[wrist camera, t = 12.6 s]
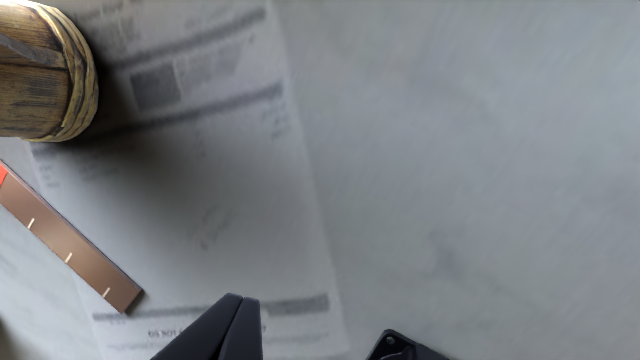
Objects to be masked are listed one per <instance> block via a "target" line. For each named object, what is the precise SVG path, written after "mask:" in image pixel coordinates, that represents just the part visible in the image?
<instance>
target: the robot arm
mask: <svg viewBox="0 0 640 360" xmlns="http://www.w3.org/2000/svg"><path fill="white" fill-rule="evenodd" d="M387 337H392V338H393V339H388V338H387ZM150 360H263V351H262V334H261V317H260V302H259V300H257V299H253V298H249V297H244V298H243V297H242V296H241V295H237V294H232V293H227V294H226V295H224V296H223V297H222V298H221V299H220V300H219V301H217V302H216V303H215V304H214V305H213V306H212V307H210V308H209V309H208V310H207V311H206V312H205V313H204V314H202V315H201V316H200V317H199V318H198V319H197V320H195V321H194V322H193V323H192V324H191V325H190V326H188V327H187V328H186V329H185V330H184V331H183V332H181V333H180V334H179V335H178V336H177V337H176V338H175V339H173V340H172V341H171V342H170V343H169V344H168V345H166V346H165V347H164V348H163V349H162V350H161V351H159V352H158V353H157V354H156V355H155V356H154V357H152V358H151V359H150ZM366 360H450V359H448V358H446V357H444V356H442V355H440V354H439V353H437V352H435V351H433V350H431V349H429V348H428V347H426V346H424V345H422V344H418V343H416V342H414V341H412V340H411V339H409V338H407V337H405V336H403V335H401V334H400V333H398V332H396V331H394V330H391V329H387V330H385V331H384V332H383V333H382V335H381V336H380V338H379V339H378V341H377V343H376V344H375V346H374V347H373V349H372V350H371V352H370V354H369V355H368V357H367V358H366Z"/></svg>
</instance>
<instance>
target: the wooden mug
mask: <svg viewBox="0 0 640 360" xmlns="http://www.w3.org/2000/svg"><path fill="white" fill-rule="evenodd" d="M98 94H99V90H98V75H97V71H96V68H95V64H94V59H93V54H92V52H91V50H90V48H89V46H88V44H87V42H86V40H85V38H84V37H83V36H82V34H81V33H80V32H79V30H78V29H77V28H76V26H75V25H74V24H73V22H72V21H71V20H69V19H68V18H67V17H66V16H65V15H64V14H63V13H61V12H60V11H59V10H58V9H57V8H53V7H49V6H46V5H42V4H38V3H34V2H29V1H24V0H0V137H18V138H20V139H22V140H26V141H35V142H59V141H64V140H69V139H71V138H73V137H75V136H77V135H79V134H80V133H81V132H82V131H83V130H84V129H85V128H87V127H88V126H89V125H90V123H91V121H92V119H93V117H94V115H95V113H96V111H97V104H98Z"/></svg>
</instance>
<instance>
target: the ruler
mask: <svg viewBox="0 0 640 360" xmlns="http://www.w3.org/2000/svg"><path fill="white" fill-rule="evenodd" d="M0 203H1V204H2V205H3V206H4V207H5V208H6V209H7V210H8V211H9V212H10V213H12V214H13V215H14V216H15V217H16V218H17V219H18V220H19V221H20V222H21V223H22V224H24V225H25V226H26V227H27V229H28V230H30V231H31V232H32V233H33V234H34V235H36V236H37V237H38V238H39V239H40V240H41V241H42V242H43V243H44V244H45V245H46V246H48V247H49V248H50V249H51V250H52V251H53V252H54V253H55V254H56V255H57V256H58V257H60V258H61V259H62V260H63V261H64V263H65V264H67V265H68V266H69V267H70V268H72V269H73V270H74V271H75V272H76V273H77V274H78V275H79V276H80V277H81V278H82V279H83V280H85V281H86V282H87V283H88V284H89V285H90V286H91V287H92V288H93V289H94V290H95V291H97V292H98V293H99V294H100V295H101V296H102V298H104V299H105V300H106V301H107V302H109V303H110V304H111V305H112V306H113V307H114V308H115V309H116V310H117V311H118V312H119V313H121V314H123V313H124V312H125V311H126V309H127V308H128V307H129V306H130V304H131V303H132V302H133V300H134V299H135V298H136V297H137V295H138V294H139V293H140V291H141V290H142V289H141V288H140V287H139V286H138V285H136V284H135V283H134V282H133V281H132V280H131V279H130V278H129V277H128V276H127V275H126V274H124V273H123V272H122V271H121V270H120V269H119V268H118V267H117V266H116V265H115V264H113V263H112V262H111V261H110V260H109V259H108V258H107V257H106V256H105V255H104V254H103V253H101V252H100V251H99V250H98V249H97V248H96V247H95V246H94V245H93V244H92V243H91V242H89V241H88V240H87V239H86V238H85V237H84V236H83V235H82V234H81V233H80V232H79V231H77V230H76V229H75V228H74V227H73V226H72V225H71V224H70V223H69V222H68V221H67V220H65V219H64V218H63V217H62V216H61V215H60V214H59V213H58V212H57V211H56V210H55V209H53V208H52V207H51V206H50V205H49V204H48V203H47V202H46V201H45V200H44V199H43V198H41V197H40V196H39V195H38V194H37V193H36V192H35V191H34V190H33V189H32V188H31V187H29V186H28V185H27V184H26V183H25V182H24V181H23V180H22V179H21V178H20V177H18V176H17V175H16V174H15V173H14V172H13V171H12V170H11V169H10V168H9V167H8V166H6V165H5V164H4V163H3V162H2V161H1V160H0Z"/></svg>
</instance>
